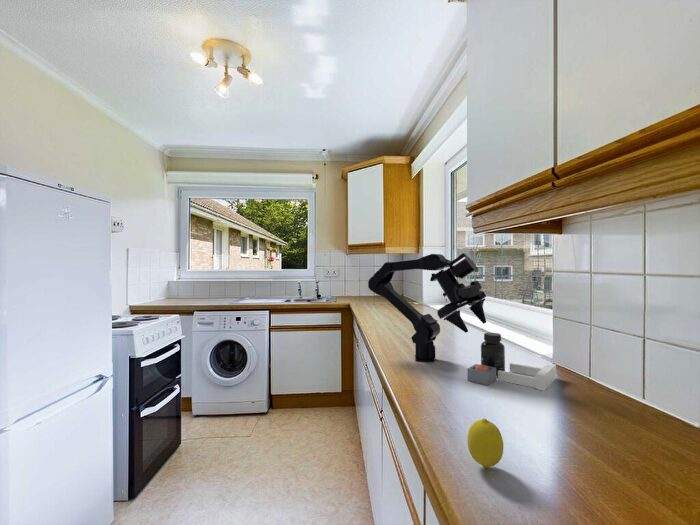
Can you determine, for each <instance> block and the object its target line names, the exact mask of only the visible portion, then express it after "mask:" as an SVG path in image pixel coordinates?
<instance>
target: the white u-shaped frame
mask: <svg viewBox="0 0 700 525" xmlns="http://www.w3.org/2000/svg"><path fill="white" fill-rule="evenodd" d="M556 379H557V364H554V363H547V364H546V365H545V366H543V367H538V366H532V365H526V364H522V363H521V364H520V363H514V362H510V363H509V371H506V370H505V371H500V370H499V371H498V376H497V381H501V382H507V383H511V384H515V385H516V384H517V385H520V386H524V387H529V388H535V389H536V390H540V391H546V390H547V389H549V388H548V387H550V385H551V384H552V383H553V382H554V381H555V380H556Z"/></svg>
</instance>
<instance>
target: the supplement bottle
mask: <svg viewBox="0 0 700 525" xmlns="http://www.w3.org/2000/svg"><path fill="white" fill-rule="evenodd" d="M483 340H484V341H482V342H481V344H480V365H486V366H489V367H495V368H496V377H498V371H499V370H500V371H506V359H505V358H506V355H505V354H506V350H505V347H506V346H505V344H503V343H502V334H500V333H497V332H485V333H484V334H483Z"/></svg>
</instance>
